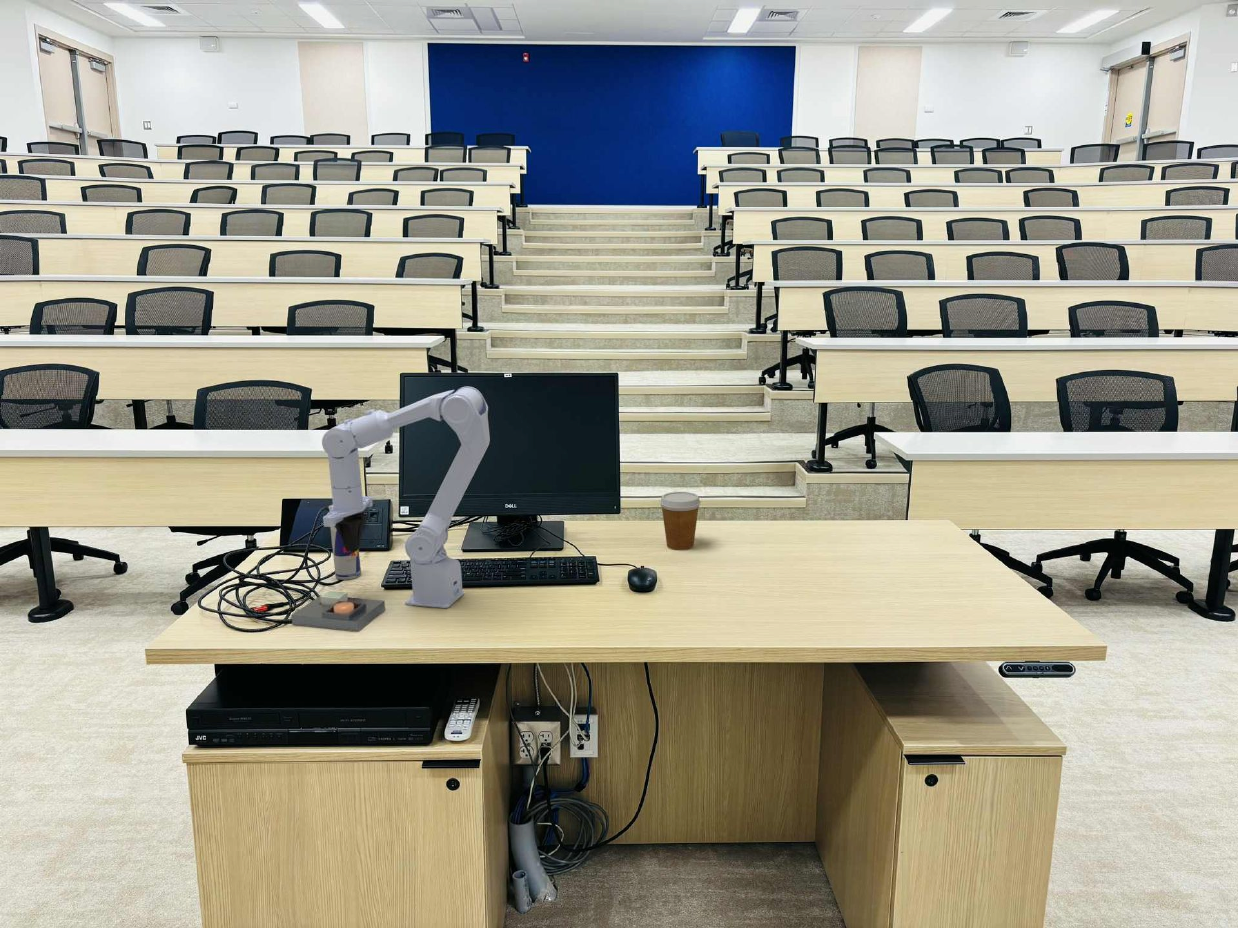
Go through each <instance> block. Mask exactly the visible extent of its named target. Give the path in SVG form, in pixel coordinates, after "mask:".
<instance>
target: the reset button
mask: <svg viewBox="0 0 1238 928" xmlns="http://www.w3.org/2000/svg"><path fill="white" fill-rule="evenodd" d="M353 610H354V604H353V603H351V602H342V603H338V604H336V605H335V606H334V613H340V614H349V613H351V612H352V611H353Z"/></svg>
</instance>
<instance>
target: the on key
mask: <svg viewBox="0 0 1238 928" xmlns="http://www.w3.org/2000/svg"><path fill="white" fill-rule="evenodd" d="M321 595H322V596H321ZM321 595H320V596H321V605H331V606H332V605H334V604H335V603H337V602H338V601H346V602H347V601H348V592H347V591H346V592H345V591H335V590H328V591H327V592H325V593H323V594H321Z"/></svg>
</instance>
